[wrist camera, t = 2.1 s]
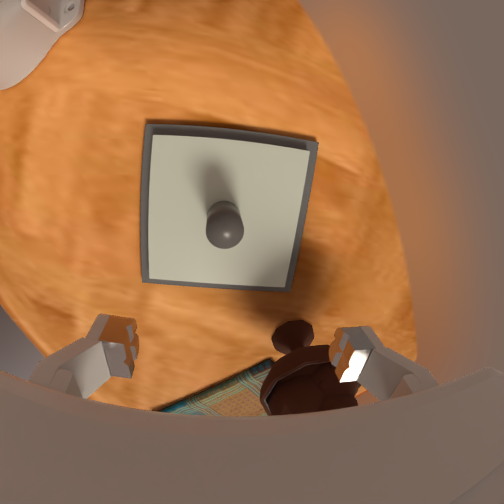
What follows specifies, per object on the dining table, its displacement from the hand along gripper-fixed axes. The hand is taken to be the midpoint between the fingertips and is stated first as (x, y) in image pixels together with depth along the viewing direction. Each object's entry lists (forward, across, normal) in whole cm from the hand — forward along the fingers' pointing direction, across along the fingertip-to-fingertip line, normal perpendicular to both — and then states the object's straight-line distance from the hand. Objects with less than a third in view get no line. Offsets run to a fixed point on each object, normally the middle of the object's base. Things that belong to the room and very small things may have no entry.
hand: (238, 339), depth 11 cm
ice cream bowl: (+18, -10, +15) cm, 25 cm away
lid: (+17, 0, 0) cm, 17 cm away
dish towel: (+19, -4, +32) cm, 38 cm away
